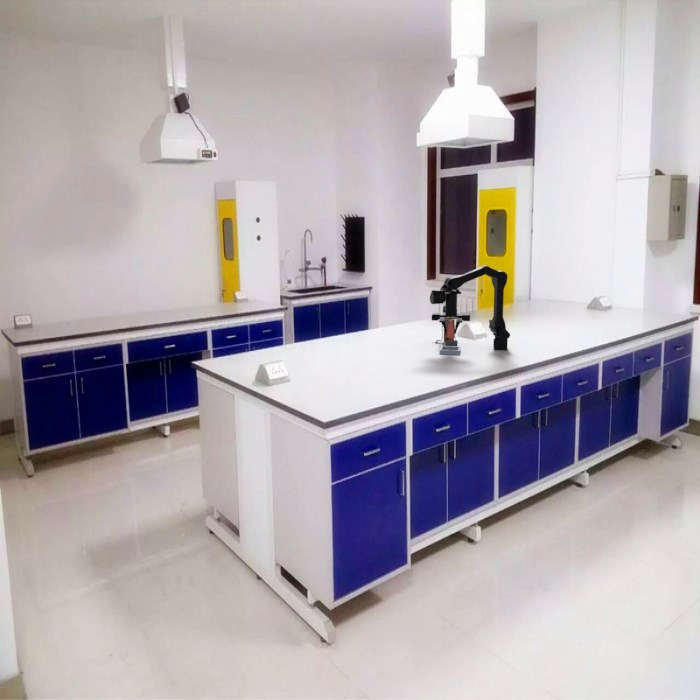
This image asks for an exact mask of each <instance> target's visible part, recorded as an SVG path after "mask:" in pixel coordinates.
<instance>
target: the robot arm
mask: <svg viewBox="0 0 700 700" xmlns="http://www.w3.org/2000/svg"><path fill="white" fill-rule="evenodd" d="M482 276H487V277H490V278H491V283H492V286H493V290H494V291H493V315H492V316H493V317H492V319H489V321H488V322H489V325H488V328H489V331H490V332H491V333H492V334H493V337H494V338H493V349H494V351H495V350H496V351H497V350H498V351H499V350H500V351H504V350H505V351H507V350H509V349H508V339H509V338H510V337H511V333H510V332H509V331H508V330H507V327H506V326H507V325H506V321H505V319H504V296H505V295H504V293H505V292H504V291H505V288H506V285H507V282H508V274H507V272H505V271H503V270H500V269H499V270H497V269H495V268H492V267H490V266H489V265H481V266H480V267H478V268H474V269H472V270H470V271H467V272H465V273H463V274H459V275H453V276H449V277H446V278H445V280H444V281H443V282H444V283H443V284H442V286H441V288H440V289H439V290H438V289H437V290H436V289H432V290H431V293H430V296H429V302H430V304H431V305H442V314H441V312H433V313H432V314H431V321H438V323H441V326H442V327H443V331H444V330H445V333H446V334H447V328H446V319H454V320H456V321H455V335H456V334H457V331H458V328H459V326H460V323H463V322H471V314H470V313H462V314H461V315H460V314H459V315H458V295H462V291H460V290H459V288H460V287H462V286H463V285H464V284H465V283H468V282H470V281H472V280H475V279H477V278H479V277H482ZM444 303H445V304H444ZM443 304H444V306H443ZM443 313H444V315H443Z"/></svg>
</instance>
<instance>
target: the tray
mask: <svg viewBox="0 0 700 700" xmlns="http://www.w3.org/2000/svg"><path fill="white" fill-rule="evenodd" d="M461 348H462V346H461V345H459V346H458V345H457V346H446V345H440V349H439V355H457V356H459V355H461V351H462V349H461Z"/></svg>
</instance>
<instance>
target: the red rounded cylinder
mask: <svg viewBox="0 0 700 700" xmlns="http://www.w3.org/2000/svg"><path fill="white" fill-rule="evenodd" d="M455 326H456V323H455V322H452V319H450V322H448V323H447V338H454V339H455V338H456V334H455Z"/></svg>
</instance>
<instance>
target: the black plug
mask: <svg viewBox="0 0 700 700" xmlns="http://www.w3.org/2000/svg"><path fill="white" fill-rule="evenodd" d="M442 343H443V344H442V346H458V344H459V343H458V340H457V339H454V340H446V342H444V341H443V342H442Z"/></svg>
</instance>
